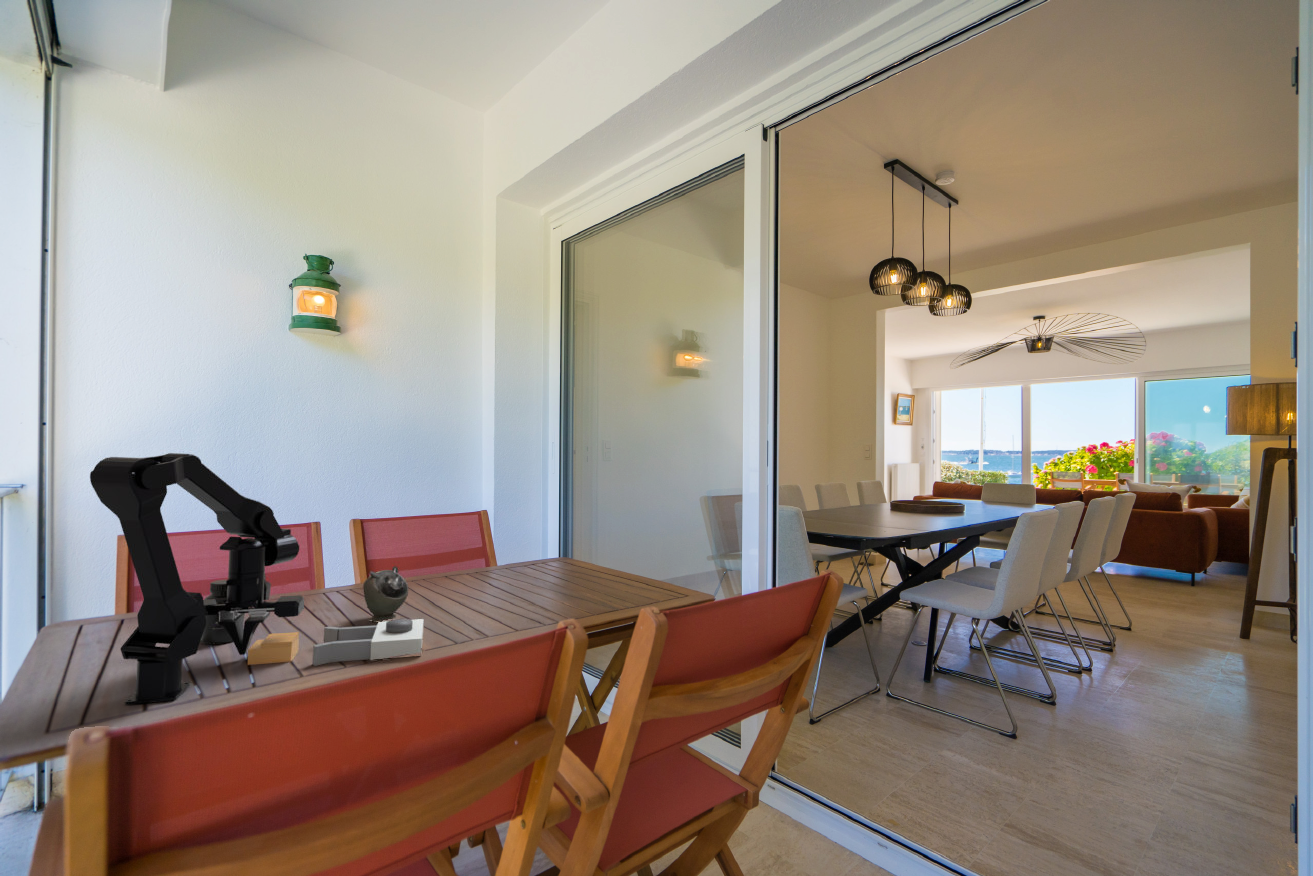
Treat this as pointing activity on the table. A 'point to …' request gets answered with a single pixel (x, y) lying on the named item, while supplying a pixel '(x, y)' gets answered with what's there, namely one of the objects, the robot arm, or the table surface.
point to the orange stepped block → (274, 649)
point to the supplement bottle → (216, 616)
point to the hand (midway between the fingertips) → (242, 654)
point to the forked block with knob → (369, 641)
